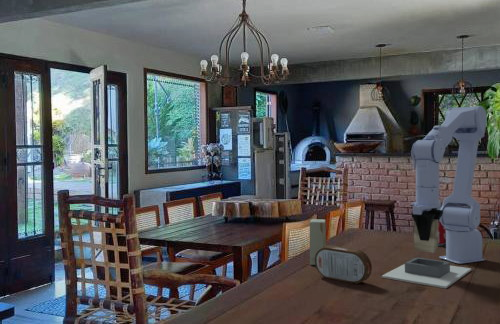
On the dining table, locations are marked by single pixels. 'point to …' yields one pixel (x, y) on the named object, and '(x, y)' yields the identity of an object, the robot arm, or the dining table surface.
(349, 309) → the dining table surface
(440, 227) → the soda can
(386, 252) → the dining table surface
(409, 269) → the peg socket
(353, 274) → the tin
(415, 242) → the birch peg
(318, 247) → the skincare box
